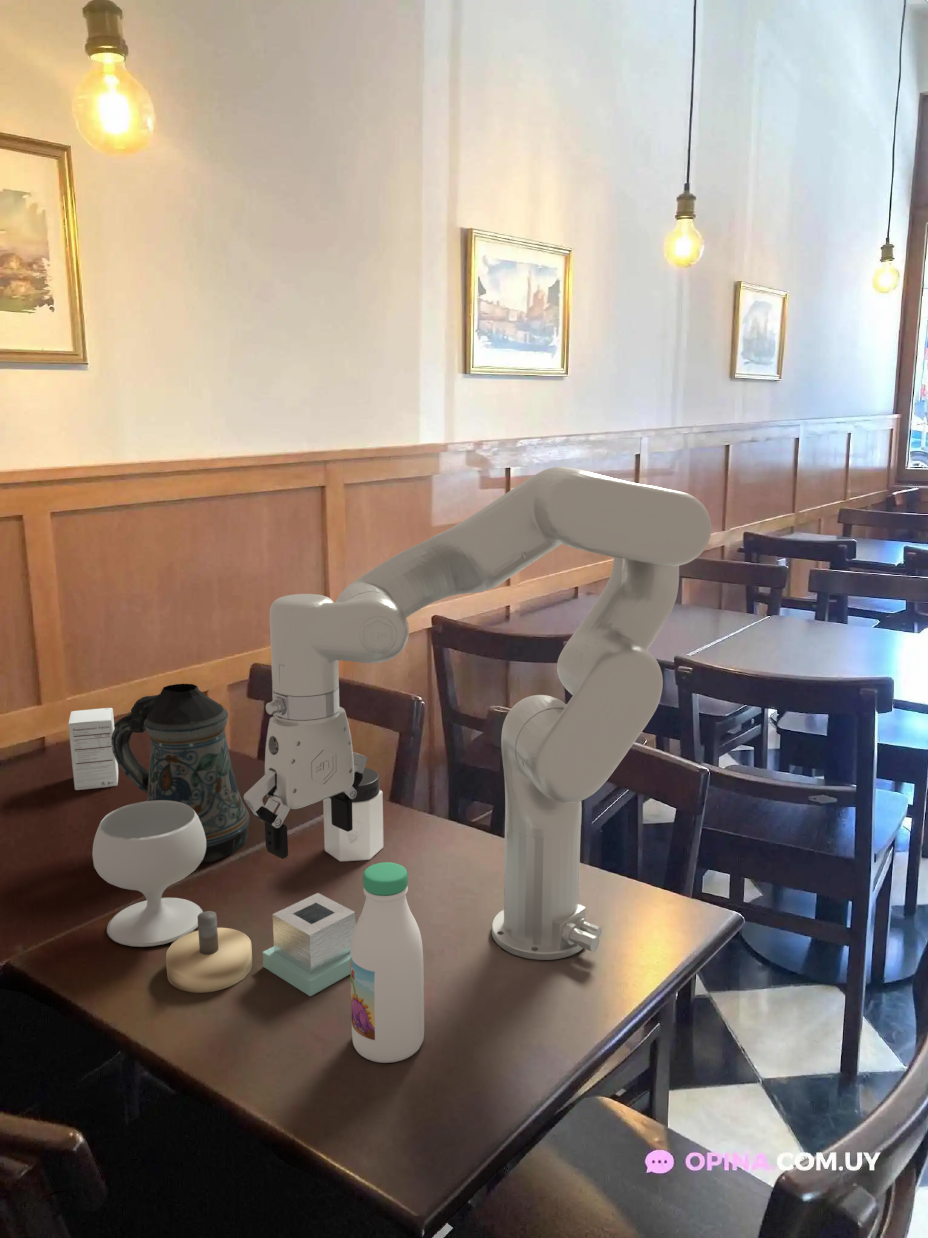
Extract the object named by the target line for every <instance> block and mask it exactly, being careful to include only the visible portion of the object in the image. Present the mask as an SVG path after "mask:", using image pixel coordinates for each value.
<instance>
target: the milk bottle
mask: <svg viewBox="0 0 928 1238" xmlns="http://www.w3.org/2000/svg"><path fill="white" fill-rule="evenodd" d="M408 877H409V876H408V871H407V869H406V867H404V866H403V865H401V864H398V863H397V862H388V861H384V862H379V863H378V862H377V863H374V864H371V865H369V866H368V867H366V869H365V870H364V871H363V874H362V884H363V894H364V896H365V902H364V905H363V908H362V911H361V912H360V915H359V917H358V918H357V919H358V920H357V922H356V926H355V929H354V932H353V936H352V940H351V955H350V974H349V975H350V1010H351V1011H350V1012H351V1017H350V1019H351V1038H352V1039H351V1040H352V1045H353V1047H354V1049H355V1050H356V1052H357V1053H358V1054H359V1055H360V1056H361V1057H363V1058H364V1059H366V1060H369V1061H371V1062H374V1063H381V1064H389V1063H396V1062H401V1061H403V1060H404V1061H405V1060H406V1059H408V1058H410V1057H412V1056H413V1055H414V1054H416V1053H417V1052H418V1051H419V1050H420V1048H421V1046H422V1044H423V1042H424V1039H425V1037H424V1036H425V990H424V989H425V986H424V985H425V984H424V981H425V980H424V975H425V974H424V953H423V951H424V950H423V942H422V934H421V931H420V928H419V925H418V923H417V921H416V919H415V917H414V915H413V913H412V911H411V909H410V906H409V903H408V900H407V896H406V894H407V893H408V890H409V887H408V884H409V881H408V880H409V879H408Z"/></svg>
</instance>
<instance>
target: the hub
mask: <svg viewBox="0 0 928 1238" xmlns="http://www.w3.org/2000/svg"><path fill="white" fill-rule="evenodd" d="M252 950H253V949H252V941H251V939H250V938H249V936H248V935H247V934H246V933H244V932H242V931H240V930H237V929H235V928H234V929H233V928H230V927H229V928H228V927H218V919H217V913H216V912H215V911H213V910H207V911H206V910H205V911H203V912H202V913H200V914H199V915H198V927H197V930H194V931H193V932H191V933H189V934H186V935H184V936H182V937H181V938H179V939H177V940H176V941H173V942H172V943H171V945H170V946H169V947H168V949H167V950H166V952H165V953H166V954H165V960H166V961H165V962H166V974H167V975H166V976H167V980H168V982H169V983H170V985H172V986H173V987H175V989H178V990H180V991H183V992H187V993H198V994H200V993H203V994H204V993H213V992H217V991H221V990H224V989H228V988H230V987H232V986H234V985H236V984H238V983H240V982H241V981H242V980H243V979H245V978H246V977H247V975H249V973H250V972H251V971H252V967H253V953H252V952H253V951H252Z"/></svg>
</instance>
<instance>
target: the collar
mask: <svg viewBox="0 0 928 1238" xmlns="http://www.w3.org/2000/svg"><path fill="white" fill-rule="evenodd" d="M356 924H357V922H356V911H355V910H352V909H350V908H348V907H346V906H344V905H342V904H341V903H338V902H337V901H335V900H333V899H330V898H329V897H327V896H325V895H323V894H322V893H319V892H316V893H315V894H312V895H310V896H308V897H306V898H304V899H301V900H300V901H298V902H295V903H293V904H291V905H290V906H289V905H288V906H287V907H284V908H283V909H281V910H279V911H276V912H274V913H272V933H273V946H274V952H276V953H277V954H279V955H281V956H282V957H284V958H286V959H287V960H289V961H290V962H292V963H294V964H295V965H297V966H299V967H300V968H302V969H304V970H305V971H307V972H309V973H310V974H312V973H314V972H316V971H318V970H319V969H321V968H323V967H325V966H327V965H329V964H330V963H332V962H334V961H336V960H338V959H340V958H341V957H343V956H345V955H347V954H349V953H351V940H352V936H353V932H354V929H355V926H356Z"/></svg>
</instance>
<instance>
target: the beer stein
mask: <svg viewBox="0 0 928 1238" xmlns="http://www.w3.org/2000/svg"><path fill="white" fill-rule="evenodd" d="M228 717H229V713H228V711H227V709H226V708H225V707H223V705H222V704H220V703H218V702H217V701H215V700H214V699H212V698H210V697H208V696H207V695H206V694H205V693H203V692H202V691H201V690H200V689H199V687H198V685H196V684H194V683H193V684H192V683H175V684H172V685H171V684H170V685H166V686H163V688H162V689H161V691H160V693H159V694H155V695H145V696H142V697H141V698H139V699H137V700H136V702H135V703H134V704H133V706H132V707H131V709H130V713H128V714H126V715H125V716H123V717H122V718H120V719H118V720H117V721H116V722H114V728H115V729H114V731H113V734H112V738H111V745H112V750H113V754H114V756H115V759H116V761H117V763H118V767H119V768H120V769H121V771H123V773H124V775H125V776H126V777H127V778H128V779H129V780H130V781H131V782H132V783H133V784H134V785H135V786H136V787H137V788H138V789H140V790H141V791H142V792H143V793H144V794H147V797H146V801H155V800H168V801H176V802H181V803H184V804H186V805H188V806H190V807H191V808H192V809H193V810H194V811H195V812H196V814H197V815H198V817H199V819H200V822H201V824H202V826H203V829H204V833H205V837H206V852H205V855H204V858H203V860H202V862H201V863H200V864H206V863H210V862H215V861H217V860H220V859H223V858H226V857H229V856H231V855H232V853H233V854H234V853H236V852H237V851H238V850H239V848H240V847H241V848H243V847H244V846H245V845H244V844H246V842H247V840H248V837H249V824H250V813H249V810H248V809H247V807H246V806H245V804H244V802H243V800H242V797H241V794H240V791H239V787H238V785H237V780H236V776H235V773H234V769H233V765H232V759H231V756H230V749H229V745H228V742H227V741H228V740H227V736H226V726H227V724H228ZM145 731H146V733H147V734H148V736H149V737H150V751H149V752H150V753H149V766H148V768H149V769H146V768H145V767H144V766H143V765H142V764H141V763H140V762H139V760H138V758H137V757H136V756H135V754H134V753H133V751H132V749H131V746H130V740H131V737H132V734H133V733H135V734H137V733H138V734H143V733H144V732H145ZM243 845H244V846H243ZM241 848H240V849H241ZM236 850H237V851H236ZM230 854H231V855H230Z"/></svg>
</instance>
